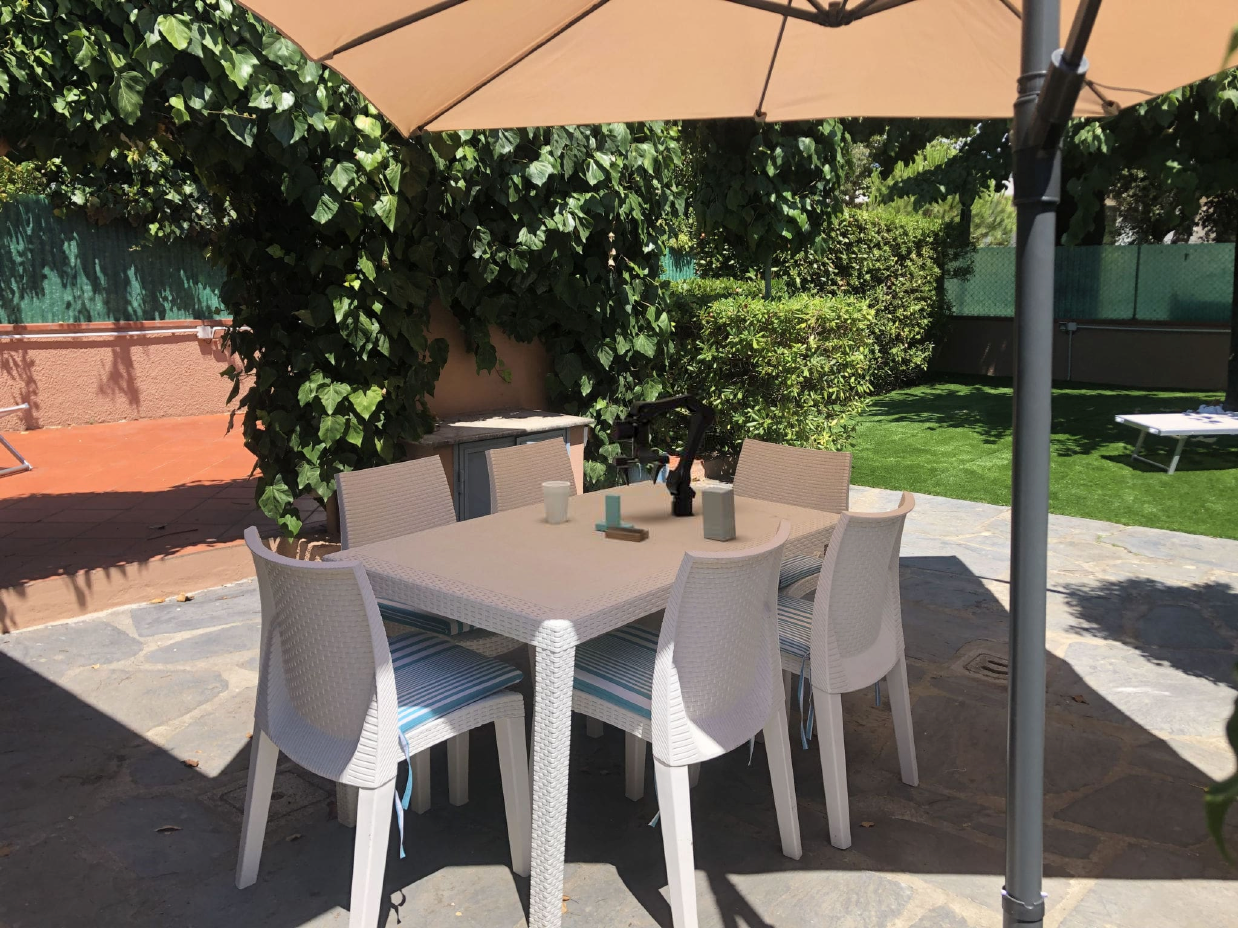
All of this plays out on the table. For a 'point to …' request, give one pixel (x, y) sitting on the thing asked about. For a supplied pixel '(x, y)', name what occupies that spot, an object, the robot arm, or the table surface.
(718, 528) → the skincare box
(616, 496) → the teal t-shaped block
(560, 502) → the foam cup
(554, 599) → the table surface
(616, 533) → the board
